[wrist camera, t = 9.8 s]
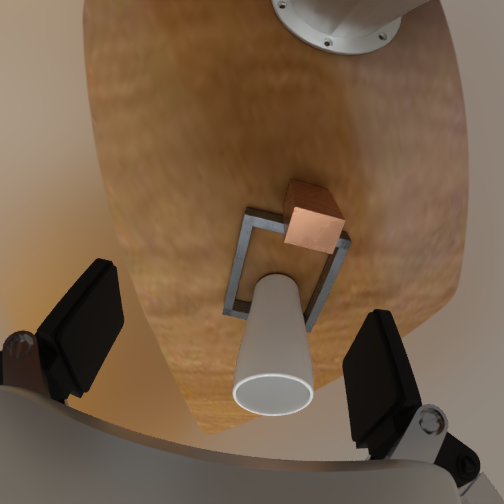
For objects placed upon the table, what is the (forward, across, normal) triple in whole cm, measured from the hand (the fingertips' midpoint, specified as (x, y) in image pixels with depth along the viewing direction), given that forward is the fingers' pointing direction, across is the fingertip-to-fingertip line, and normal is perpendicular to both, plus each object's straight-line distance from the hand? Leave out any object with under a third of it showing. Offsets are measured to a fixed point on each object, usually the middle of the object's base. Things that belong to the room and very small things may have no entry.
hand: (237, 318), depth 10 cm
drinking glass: (+21, -4, +14) cm, 25 cm away
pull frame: (+20, -4, +9) cm, 23 cm away
